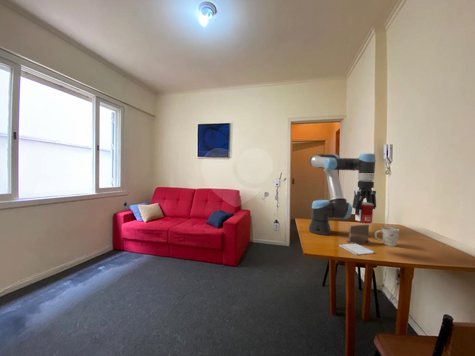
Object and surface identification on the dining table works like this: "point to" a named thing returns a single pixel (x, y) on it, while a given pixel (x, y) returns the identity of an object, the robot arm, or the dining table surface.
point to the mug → (388, 235)
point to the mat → (357, 249)
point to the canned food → (366, 212)
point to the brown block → (358, 234)
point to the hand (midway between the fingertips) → (363, 220)
